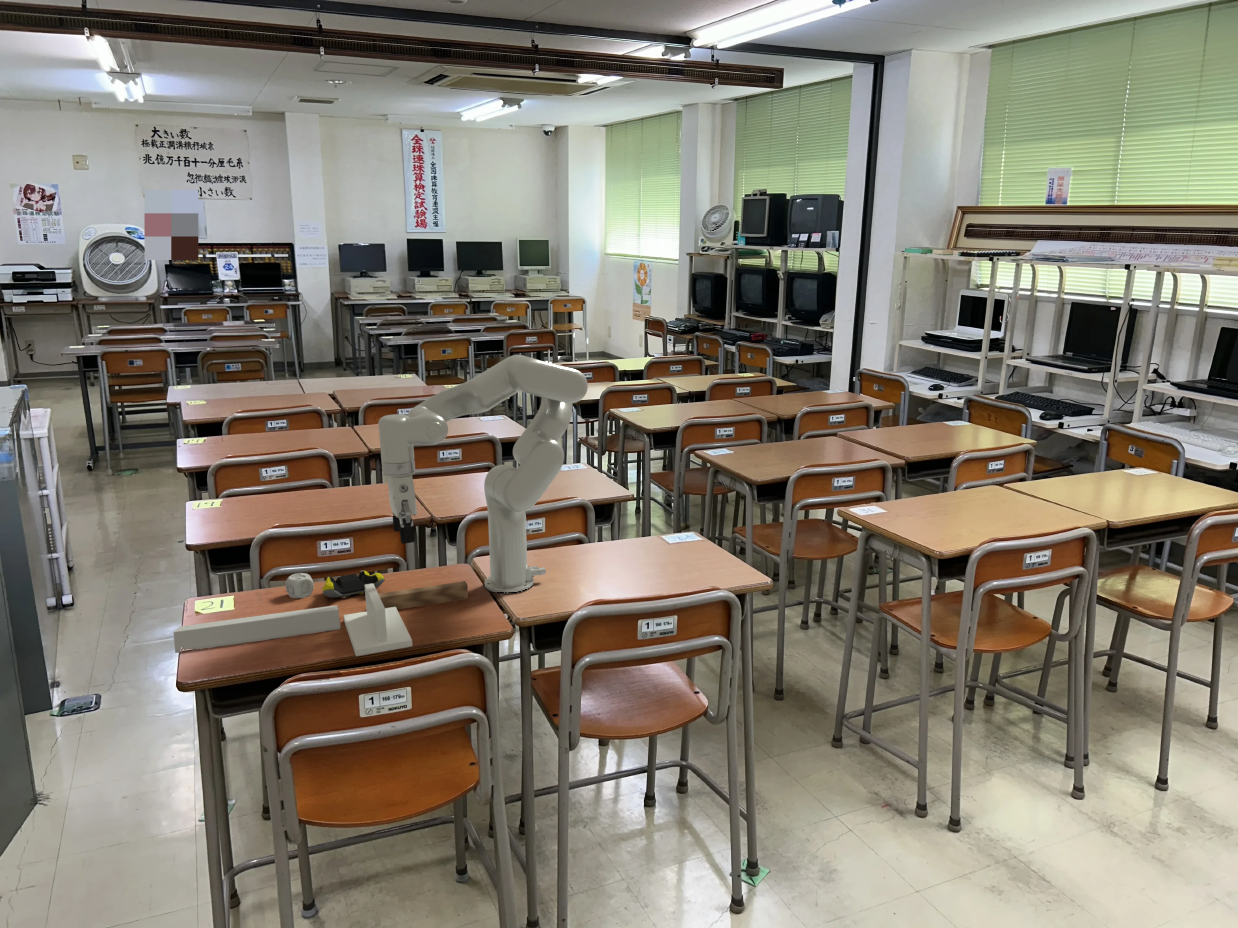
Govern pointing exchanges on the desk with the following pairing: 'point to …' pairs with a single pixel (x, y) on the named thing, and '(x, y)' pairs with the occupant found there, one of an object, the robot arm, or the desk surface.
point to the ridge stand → (376, 627)
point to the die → (299, 585)
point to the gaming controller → (351, 584)
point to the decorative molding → (256, 628)
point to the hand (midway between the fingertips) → (404, 536)
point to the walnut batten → (425, 595)
